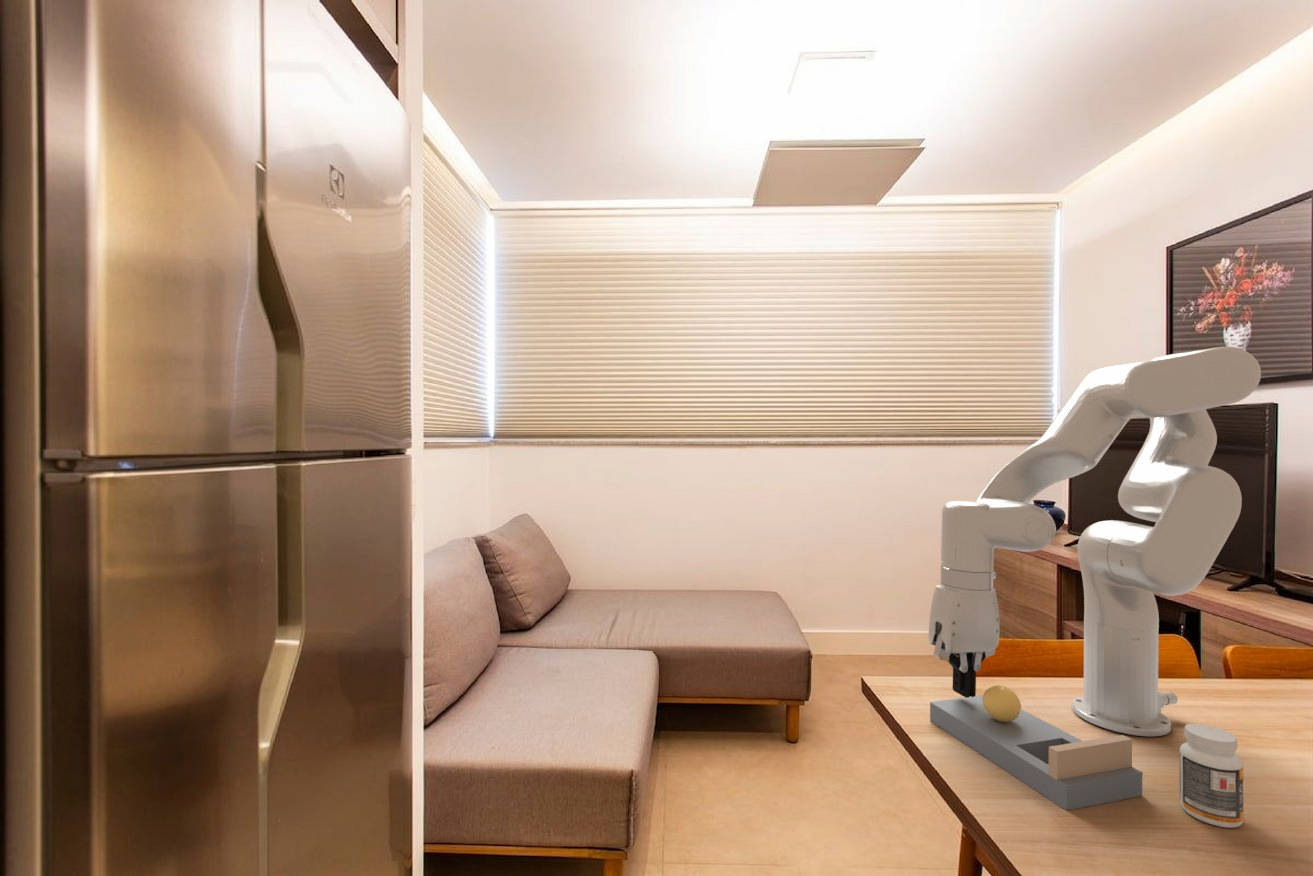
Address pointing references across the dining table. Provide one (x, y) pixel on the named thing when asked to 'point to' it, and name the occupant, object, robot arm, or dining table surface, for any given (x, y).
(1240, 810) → the pill bottle
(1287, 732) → the dining table surface
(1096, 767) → the board
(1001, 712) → the ball
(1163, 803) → the dining table surface
